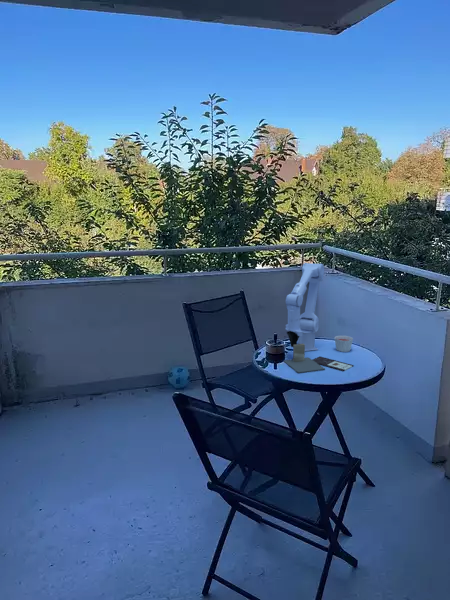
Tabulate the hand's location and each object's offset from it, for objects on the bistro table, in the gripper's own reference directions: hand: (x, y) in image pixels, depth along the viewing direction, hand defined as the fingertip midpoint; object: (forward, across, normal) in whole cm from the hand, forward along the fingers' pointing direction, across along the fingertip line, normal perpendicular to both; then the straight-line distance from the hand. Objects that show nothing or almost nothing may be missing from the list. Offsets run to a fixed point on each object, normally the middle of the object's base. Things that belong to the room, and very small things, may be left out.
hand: (293, 346), depth 201 cm
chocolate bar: (+7, +13, +13) cm, 20 cm away
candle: (+6, -3, +29) cm, 30 cm away
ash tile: (+5, +6, 0) cm, 8 cm away
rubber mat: (+6, +11, 0) cm, 12 cm away
